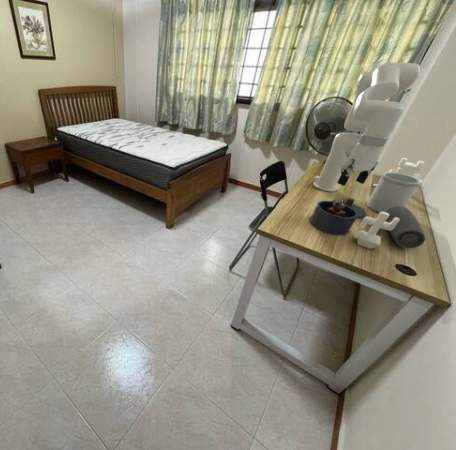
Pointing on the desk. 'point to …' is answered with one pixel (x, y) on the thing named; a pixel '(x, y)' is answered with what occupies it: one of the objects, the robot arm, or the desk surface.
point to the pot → (333, 219)
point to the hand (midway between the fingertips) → (350, 183)
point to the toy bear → (337, 209)
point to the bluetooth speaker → (405, 228)
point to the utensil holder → (393, 191)
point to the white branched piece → (408, 168)
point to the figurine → (374, 229)
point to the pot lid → (354, 207)
